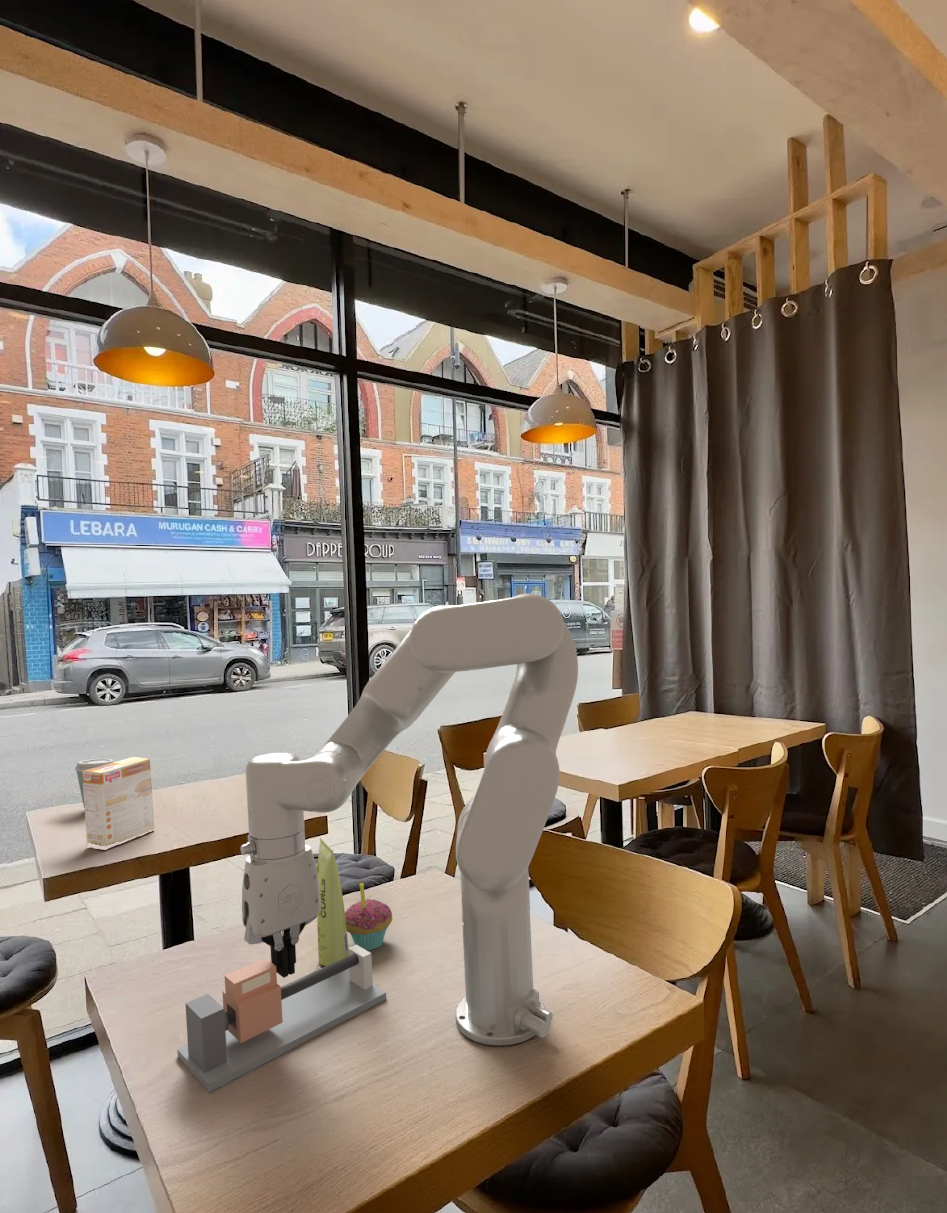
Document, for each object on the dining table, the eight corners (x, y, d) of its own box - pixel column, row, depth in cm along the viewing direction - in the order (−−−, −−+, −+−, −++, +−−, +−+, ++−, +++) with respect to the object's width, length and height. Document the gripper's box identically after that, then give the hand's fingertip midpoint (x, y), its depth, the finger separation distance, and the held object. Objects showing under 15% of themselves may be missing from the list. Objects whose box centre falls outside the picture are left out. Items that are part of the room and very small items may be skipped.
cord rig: (348, 975, 115) (346, 925, 115) (386, 999, 108) (383, 946, 107) (177, 1056, 96) (174, 997, 96) (209, 1092, 89) (205, 1029, 89)
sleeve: (265, 1008, 102) (262, 956, 102) (282, 1022, 99) (279, 968, 99) (224, 1027, 98) (221, 973, 98) (241, 1043, 95) (237, 986, 94)
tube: (309, 964, 119) (302, 847, 118) (326, 949, 123) (320, 836, 123) (338, 970, 117) (332, 850, 116) (355, 954, 121) (349, 839, 121)
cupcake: (384, 958, 120) (380, 886, 119) (335, 955, 121) (332, 884, 121) (399, 933, 128) (396, 866, 128) (354, 930, 130) (350, 864, 130)
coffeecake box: (137, 828, 193) (132, 756, 193) (155, 831, 190) (151, 758, 190) (85, 848, 180) (80, 770, 179) (105, 851, 177) (100, 772, 176)
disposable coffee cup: (93, 805, 218) (90, 755, 217) (126, 805, 216) (123, 755, 216) (69, 816, 207) (66, 764, 207) (104, 816, 206) (100, 764, 205)
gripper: (239, 866, 93) (246, 1005, 94) (338, 835, 104) (344, 961, 104) (214, 852, 99) (221, 984, 99) (310, 824, 109) (316, 943, 110)
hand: (284, 972), depth 102 cm, fingers closed
